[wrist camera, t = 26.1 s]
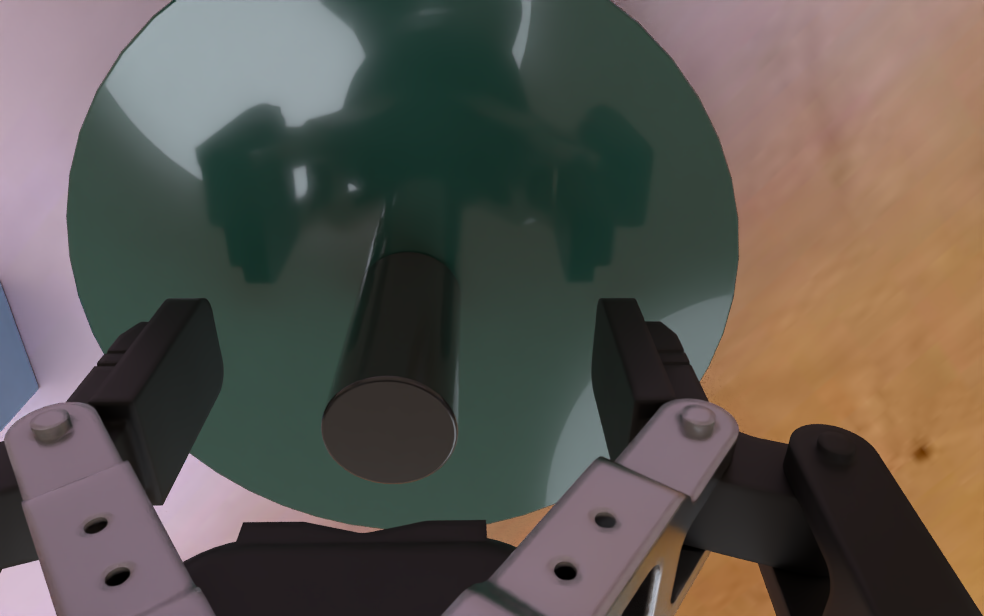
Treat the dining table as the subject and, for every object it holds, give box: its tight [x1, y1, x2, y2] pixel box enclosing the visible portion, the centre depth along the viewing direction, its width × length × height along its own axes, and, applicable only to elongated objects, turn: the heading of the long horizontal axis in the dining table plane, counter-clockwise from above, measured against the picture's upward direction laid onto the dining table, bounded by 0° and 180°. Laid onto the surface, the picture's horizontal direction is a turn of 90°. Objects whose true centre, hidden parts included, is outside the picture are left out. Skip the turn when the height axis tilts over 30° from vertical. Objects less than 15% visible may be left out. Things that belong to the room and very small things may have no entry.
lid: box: [66, 0, 739, 529], centre depth 15 cm, size 15×15×6 cm
